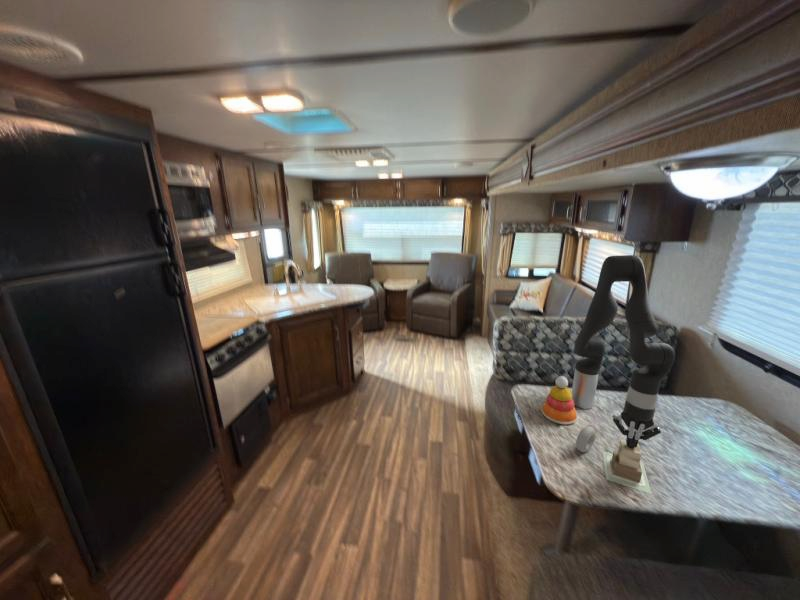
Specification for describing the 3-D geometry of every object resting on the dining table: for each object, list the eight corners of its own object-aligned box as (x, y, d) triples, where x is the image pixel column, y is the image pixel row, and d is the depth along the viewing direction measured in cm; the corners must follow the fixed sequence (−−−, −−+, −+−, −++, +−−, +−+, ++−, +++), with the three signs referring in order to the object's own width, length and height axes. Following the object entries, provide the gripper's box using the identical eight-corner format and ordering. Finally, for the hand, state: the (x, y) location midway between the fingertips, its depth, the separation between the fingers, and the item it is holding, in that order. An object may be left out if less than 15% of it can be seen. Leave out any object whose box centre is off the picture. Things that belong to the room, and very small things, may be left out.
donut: (581, 459, 109) (585, 436, 107) (572, 453, 112) (576, 430, 109) (595, 447, 115) (599, 425, 112) (585, 442, 117) (589, 420, 115)
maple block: (617, 453, 105) (620, 439, 104) (635, 458, 103) (638, 444, 101) (619, 463, 101) (622, 448, 99) (637, 469, 99) (641, 454, 97)
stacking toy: (569, 407, 138) (575, 369, 133) (583, 428, 125) (590, 386, 119) (536, 405, 140) (541, 367, 135) (546, 425, 127) (552, 384, 121)
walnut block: (611, 459, 108) (613, 450, 107) (636, 467, 104) (638, 457, 103) (613, 474, 102) (615, 464, 101) (639, 482, 98) (642, 472, 97)
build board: (602, 452, 112) (602, 450, 112) (642, 464, 106) (643, 462, 106) (605, 481, 100) (606, 478, 100) (651, 496, 95) (651, 493, 94)
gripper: (664, 400, 96) (653, 445, 100) (614, 390, 102) (605, 432, 107) (671, 414, 89) (658, 461, 94) (617, 401, 95) (607, 447, 100)
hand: (630, 446), depth 100 cm, fingers closed
